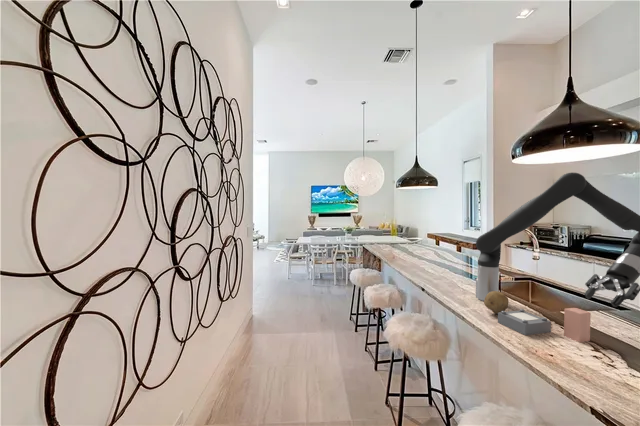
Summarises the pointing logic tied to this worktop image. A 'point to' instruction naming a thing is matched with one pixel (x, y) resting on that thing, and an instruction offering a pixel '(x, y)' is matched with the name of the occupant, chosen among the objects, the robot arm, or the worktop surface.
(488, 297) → the brown round lump
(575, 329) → the coral brick
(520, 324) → the base brick
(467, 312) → the worktop surface
